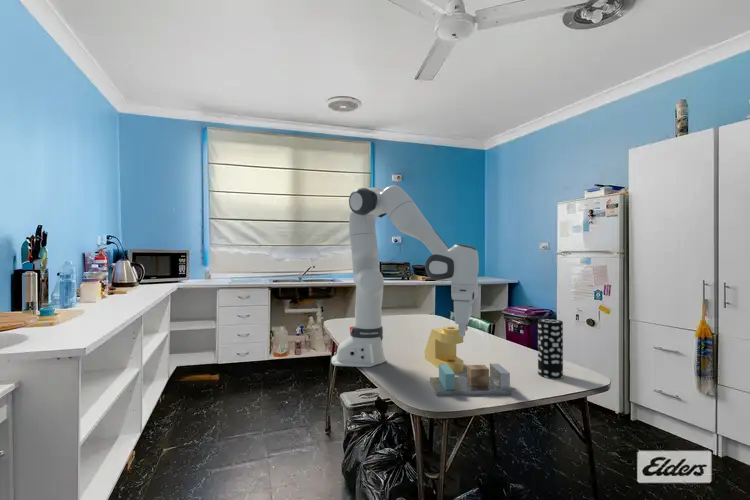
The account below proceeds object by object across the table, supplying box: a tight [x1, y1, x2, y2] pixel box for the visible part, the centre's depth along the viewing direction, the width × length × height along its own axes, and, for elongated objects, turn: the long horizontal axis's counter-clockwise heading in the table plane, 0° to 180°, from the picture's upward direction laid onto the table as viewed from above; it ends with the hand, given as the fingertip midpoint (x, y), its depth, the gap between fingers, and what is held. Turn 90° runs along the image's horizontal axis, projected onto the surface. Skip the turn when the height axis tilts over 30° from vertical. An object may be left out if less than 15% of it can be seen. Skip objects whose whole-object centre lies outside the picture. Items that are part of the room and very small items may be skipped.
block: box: [466, 364, 490, 386], centre depth 125 cm, size 6×4×6 cm
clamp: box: [424, 325, 464, 374], centre depth 150 cm, size 20×9×16 cm, turn 15°
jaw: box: [438, 364, 456, 390], centre depth 124 cm, size 3×10×5 cm, turn 2°
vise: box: [429, 363, 513, 397], centre depth 125 cm, size 24×13×6 cm, turn 92°
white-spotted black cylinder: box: [537, 318, 564, 380], centre depth 137 cm, size 8×8×20 cm
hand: (463, 333), depth 125 cm, fingers open, 8 cm apart
